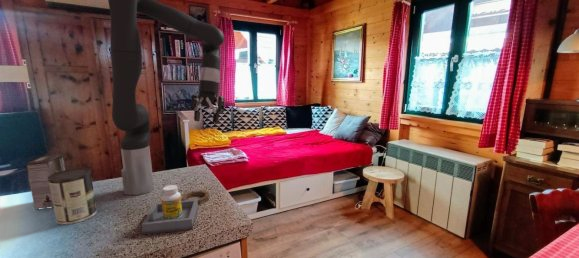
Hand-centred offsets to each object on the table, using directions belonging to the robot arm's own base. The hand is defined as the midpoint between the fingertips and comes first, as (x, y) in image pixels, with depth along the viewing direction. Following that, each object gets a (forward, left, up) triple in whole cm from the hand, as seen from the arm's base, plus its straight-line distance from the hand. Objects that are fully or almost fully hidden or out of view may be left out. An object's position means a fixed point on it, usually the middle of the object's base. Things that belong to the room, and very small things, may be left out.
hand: (205, 122), depth 104 cm
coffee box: (-52, -7, -26) cm, 58 cm away
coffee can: (-39, -19, -26) cm, 50 cm away
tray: (-9, -28, -25) cm, 38 cm away
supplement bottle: (-9, -27, -25) cm, 38 cm away
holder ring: (-4, -15, -25) cm, 29 cm away
